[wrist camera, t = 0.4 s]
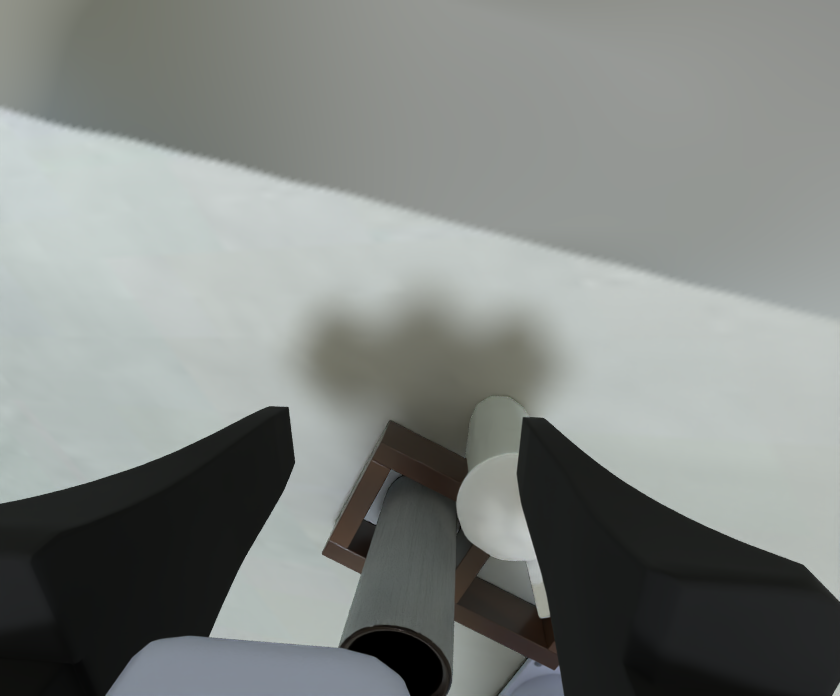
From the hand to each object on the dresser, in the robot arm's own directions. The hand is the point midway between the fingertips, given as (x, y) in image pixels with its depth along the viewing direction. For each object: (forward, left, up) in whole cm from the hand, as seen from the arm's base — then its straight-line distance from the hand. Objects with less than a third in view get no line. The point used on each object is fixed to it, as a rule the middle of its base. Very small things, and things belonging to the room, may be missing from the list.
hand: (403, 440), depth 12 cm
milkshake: (-2, -6, -11) cm, 12 cm away
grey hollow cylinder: (-9, -4, -11) cm, 15 cm away
